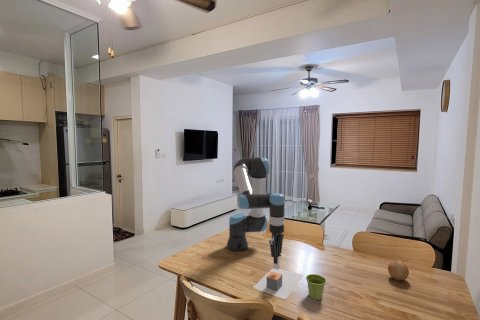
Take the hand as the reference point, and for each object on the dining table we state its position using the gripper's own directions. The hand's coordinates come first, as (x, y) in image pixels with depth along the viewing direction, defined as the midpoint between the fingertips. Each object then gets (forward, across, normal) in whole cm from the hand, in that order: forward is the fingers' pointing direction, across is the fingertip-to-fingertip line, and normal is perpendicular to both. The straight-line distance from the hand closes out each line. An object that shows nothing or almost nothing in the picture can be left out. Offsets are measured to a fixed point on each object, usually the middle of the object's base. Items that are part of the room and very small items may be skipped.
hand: (276, 268), depth 130 cm
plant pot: (+9, +2, -20) cm, 22 cm away
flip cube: (+3, -2, 0) cm, 3 cm away
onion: (+9, +42, -53) cm, 68 cm away
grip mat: (+9, +4, 0) cm, 10 cm away
